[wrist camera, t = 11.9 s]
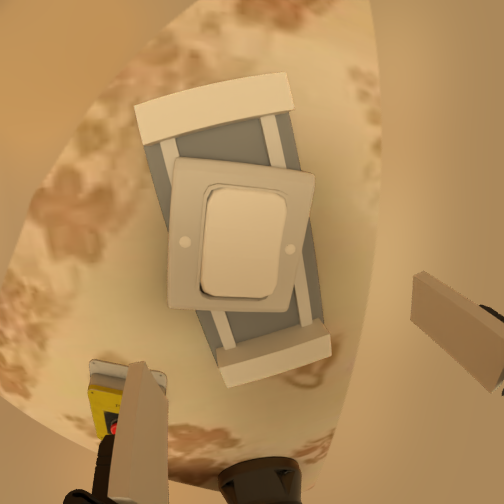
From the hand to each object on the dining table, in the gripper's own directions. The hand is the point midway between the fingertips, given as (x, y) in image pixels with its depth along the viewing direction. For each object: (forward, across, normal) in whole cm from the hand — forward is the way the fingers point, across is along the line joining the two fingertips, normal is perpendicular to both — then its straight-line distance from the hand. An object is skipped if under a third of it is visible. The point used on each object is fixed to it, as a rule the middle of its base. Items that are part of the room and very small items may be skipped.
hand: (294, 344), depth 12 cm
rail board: (+14, 0, 0) cm, 15 cm away
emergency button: (+16, +19, +16) cm, 30 cm away
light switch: (+13, +1, -1) cm, 13 cm away
